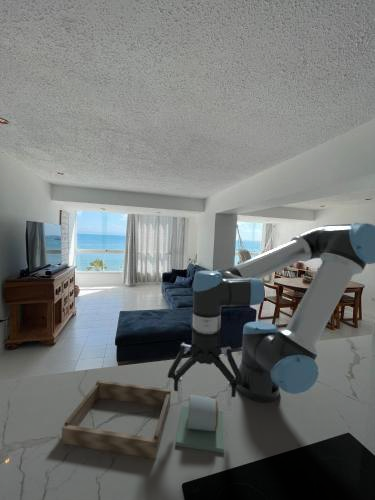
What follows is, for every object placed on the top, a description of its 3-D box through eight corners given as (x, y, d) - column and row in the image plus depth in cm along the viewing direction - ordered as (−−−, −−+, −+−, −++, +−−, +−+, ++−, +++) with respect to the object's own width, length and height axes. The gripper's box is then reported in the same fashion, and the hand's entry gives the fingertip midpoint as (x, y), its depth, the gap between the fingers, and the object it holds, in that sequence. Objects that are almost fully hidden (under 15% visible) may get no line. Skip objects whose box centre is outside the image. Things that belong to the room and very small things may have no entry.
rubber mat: (221, 414, 66) (222, 411, 66) (223, 453, 54) (224, 449, 54) (182, 409, 67) (182, 406, 67) (175, 445, 55) (175, 441, 55)
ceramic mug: (218, 439, 56) (219, 410, 56) (186, 436, 57) (187, 407, 56) (215, 408, 67) (216, 383, 66) (188, 406, 67) (189, 381, 67)
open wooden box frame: (170, 404, 68) (170, 389, 68) (156, 458, 51) (156, 438, 51) (97, 395, 71) (97, 380, 71) (61, 443, 54) (62, 423, 54)
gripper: (157, 331, 57) (156, 409, 58) (256, 338, 54) (253, 420, 55) (163, 320, 64) (162, 390, 65) (251, 326, 61) (248, 399, 62)
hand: (204, 404), depth 60 cm, fingers open, 13 cm apart
